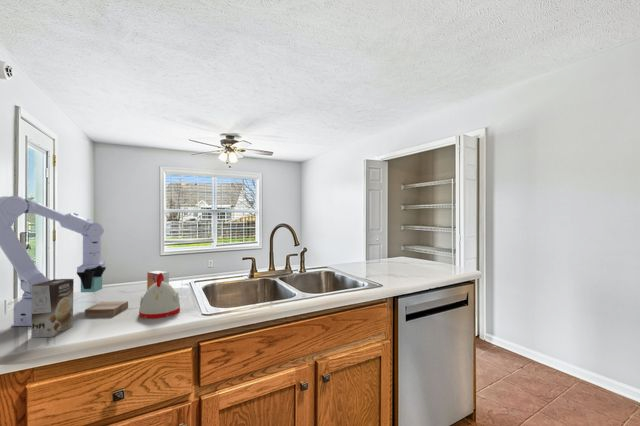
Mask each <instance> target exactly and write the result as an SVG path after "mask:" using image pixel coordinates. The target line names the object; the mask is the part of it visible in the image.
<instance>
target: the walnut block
mask: <svg viewBox="0 0 640 426" xmlns="http://www.w3.org/2000/svg"><path fill="white" fill-rule="evenodd" d="M127 309H129V301H128V300H127V301H126V300H123V301H121V300H119V301H100V302H98V303H95V304H94V305H92V306H90V307H87V308H85V309H84V317H85V318H89V317H92V318H93V317H114V316H117V315H118V314H120V313H122V312H123V311H125V310H127Z"/></svg>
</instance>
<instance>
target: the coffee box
mask: <svg viewBox="0 0 640 426" xmlns="http://www.w3.org/2000/svg"><path fill="white" fill-rule="evenodd" d="M74 281H75V280H74V278H60V279H59V278H56V279H50V281H46V282H42V283H38V284H35V285H32V324H31V327H30V328H31V330H30V334H31V335H30V337H31V338H52V337H55V336H57V335H58V334H61V333H62V332H65V331H66V330H69V329H71V328H72V327H73V326H74V284H75V283H74Z"/></svg>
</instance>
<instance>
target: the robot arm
mask: <svg viewBox="0 0 640 426" xmlns="http://www.w3.org/2000/svg"><path fill="white" fill-rule="evenodd" d="M23 214H36V215H39V216H40V217H44V218H47V219H50V220H52V221H55V222H58V223H59V224H60V227H61V228H64V229H65V230H66V229H67V230H70V231H72V232H75V233H77V234H80V235H81V236H82V264H81V265H79V266H77V267H76V275H77V276H78V278H79V279H80V282H81V281H82V284H83V287H84V289H91V285H92V278H93V277H102V278H103V274H104V272H105V271H106V268H107V267H106V266H105V265H106V260H101V259H102V258H101V257H102V256H101V255H102V254H101V247H102V246H101V243H102V242H101V238H102V235H103V234H104V231H105V229H104V228H103V226H102V225H101V224H100V223H98V222H92V220H91V219H90V218H87V219H86V218H85V217H84V218H83V217H82V216H80V215H79V213H77V212H73V213H72V212H69V213H66V214H65V213H62V212H60V211H57V210H55V209H53V208H51V207H49V206H46V205H44V204H41V203H39V202H37V201H34V200H32V199H27V198H23V197H21V196H18V195H10V196H8V195H7V196H0V248H1V250H2V252H3V253H4V255H5V256H6V257H7V260H8V261H9V262H10V265H12V267H13V268H14V269H15V271H16V273H17V277H18V279H19V282H20V290H22V291H23V293H22V298H21V299H20V300H19V301H18V302H16V303H15V304H14V307H13V323H12V324H10V327H28V326H31V324H32V285H35V284H38V283H42V282H46V281H50V280H51V279H50V278H48V277H46V276H45V275H44V273H43V272H42V271H41V270H40V269H39V268H38V267H37V266H36V264H35V263H34V261H33V259H32V258H31V256H30V255H29V253H28V252H27V250H26V248H25V247H24V245H23V243H22V242H21V240H20V239H19V237H18V236H17V234H16V232H15V231H14V230H13V228H12V226H13V225H14V223H15V222H16V221H17V219H18V218H19V217H21V216H22V215H23Z"/></svg>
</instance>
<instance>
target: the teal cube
mask: <svg viewBox="0 0 640 426" xmlns="http://www.w3.org/2000/svg"><path fill="white" fill-rule="evenodd" d="M102 289H103V276H102V277H93V278H92V285H91V289H84V287H83V284H82V281H81V280H80V293H96V292H99V291H101V290H102Z"/></svg>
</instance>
